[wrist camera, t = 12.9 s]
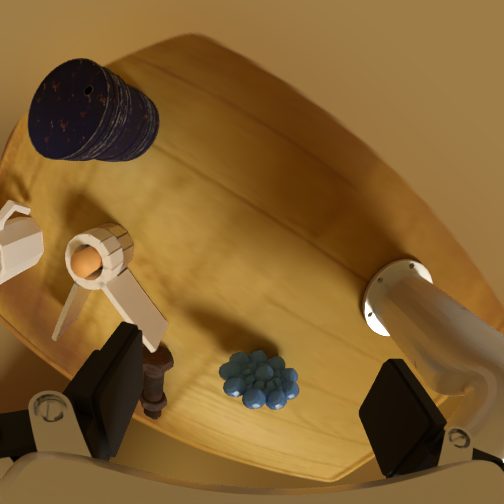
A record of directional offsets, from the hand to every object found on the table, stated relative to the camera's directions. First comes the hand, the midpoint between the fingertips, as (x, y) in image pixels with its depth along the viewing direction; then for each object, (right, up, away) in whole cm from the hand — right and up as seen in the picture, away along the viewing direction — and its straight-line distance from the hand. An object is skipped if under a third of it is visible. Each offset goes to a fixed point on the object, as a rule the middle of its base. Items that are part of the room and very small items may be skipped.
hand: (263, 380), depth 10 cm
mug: (-37, +8, +27) cm, 46 cm away
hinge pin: (-20, +5, +28) cm, 34 cm away
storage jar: (-17, +21, +23) cm, 36 cm away
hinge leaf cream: (-17, +1, +28) cm, 33 cm away
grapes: (0, -12, +33) cm, 35 cm away
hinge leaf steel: (-24, +1, +29) cm, 37 cm away
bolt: (-17, -17, +34) cm, 42 cm away
